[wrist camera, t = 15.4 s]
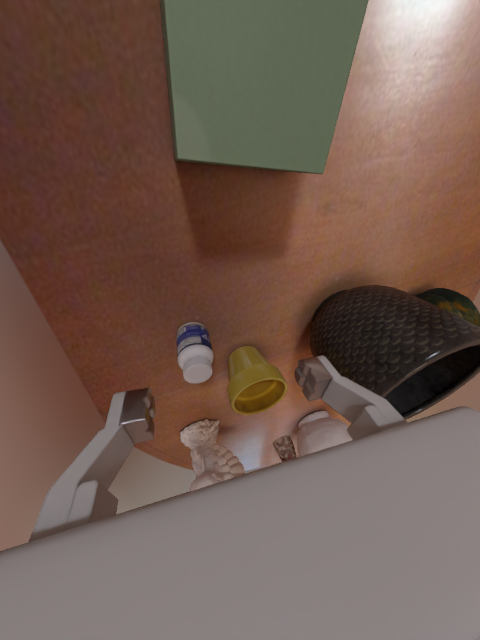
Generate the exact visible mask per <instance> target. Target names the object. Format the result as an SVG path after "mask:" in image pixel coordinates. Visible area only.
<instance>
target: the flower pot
mask: <svg viewBox="0 0 480 640" xmlns="http://www.w3.org/2000/svg"><path fill="white" fill-rule="evenodd" d="M228 368H229V384H228V388H227V392H228V396H229V400H230V404H231V407H232V409H233V410H234V411H235V412H236V413H238V414H242V415H252V414H257V413H260V412H263V411H265V410H267V409H269V408H271V407H273V406H274V405H276V404H277V403H278V402H279V401H281V399H282V398H283V397H284V396H285V394H286V392H287V383H286V381H285V379H284V378H283V376H282V374H281V373H280V371H279V370H278V368H277V367H275V366H274V365H271V364H270V363H269V362H268V361H267V360H266V359H265V358H264V357H263V356H262V354H261V353H260V352H259V351H258V350H257V349H256V348H255V347H252V346H243V347H240V348H238V349H236V350H235V351H233V352H232V353H231V354H230V356H229V358H228Z"/></svg>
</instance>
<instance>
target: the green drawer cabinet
mask: <svg viewBox="0 0 480 640" xmlns="http://www.w3.org/2000/svg"><path fill="white" fill-rule="evenodd" d="M367 4H368V0H160V8H161V19H162V29H163V40H164V51H165V62H166V73H167V84H168V95H169V105H170V116H171V127H172V138H173V149H174V160H175V161H183V162H193V163H203V164H213V165H223V166H233V167H243V168H253V169H263V170H273V171H282V172H297V173H313V174H323V172H324V169H325V165H326V161H327V157H328V153H329V149H330V146H331V142H332V138H333V134H334V130H335V126H336V123H337V119H338V115H339V111H340V107H341V103H342V100H343V96H344V92H345V88H346V84H347V80H348V77H349V73H350V69H351V65H352V61H353V57H354V54H355V50H356V46H357V42H358V38H359V35H360V31H361V27H362V23H363V19H364V15H365V12H366V8H367Z"/></svg>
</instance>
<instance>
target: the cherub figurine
mask: <svg viewBox="0 0 480 640" xmlns="http://www.w3.org/2000/svg"><path fill="white" fill-rule="evenodd" d="M218 423H219V421H218V420H215V421H212V420H210V421H209V420H208V419H205V420H204V421H198V422H196V423H193V424H191V425H190V426H188V427H186V428H185V429H184V430H183V431H181V432H180V434H181V436H180V438H181V439H180V440H181V442H182V443H184V445H185V446H187V447H190V449H191V452H190V455H191V457H192V459H193V461H192V466H193V469H194V472H195V474H196V475H197V477H196V479H195V481H194V482H193V483H192V484H191V488H190V491H193V490H196V489H199V488H202V487H206V486H209V485H212V484H215V483H218V482H221V481H225V480H228V479H231V478H234V477H237V476H241V475H244V467H243V465H242V464H241V463H240V462H239V459H238V458H237V457H236V456H234V455H233V453H232V452H231V451H229V450H227V449H226V448H225V447H223V446H218V445H217V444H216V440H215V439H216V438H217V434H218V433H217V432H218V430H219V426H218Z"/></svg>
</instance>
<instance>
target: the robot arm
mask: <svg viewBox="0 0 480 640" xmlns="http://www.w3.org/2000/svg"><path fill="white" fill-rule="evenodd" d="M295 378H296V381H297V383H298V385H300V386H301V387H303V390H302V392H303V393H304V395H305V397H306V398H307V400H308V401H312V400H317V399H321V398H322V399H321V400H323V401H324V402H325V403H327V404H328V405H329V406H330V407H332V408H333V409H334V410H336V411H337V412H338V413H339V414H341V415H342V416H343V417H345V418H346V419H347V420H348V421H350V422H351V423H352V424H351V425H350V426H349V427H348V429H347V432H348V434H349V435H350V437H351V438H352V441H348V442H345V443H342V444H339V445H336V446H333V447H329V448H326V449H323V450H320V451H317V452H313V453H310V454H307V455H304V456H301V457H298V458H294V459H291V460H288V461H285V462H282V463H279V464H275V465H272V466H270V467H266V468H263V469H260V470H256V471H253V472H250V473H247V474H244V475H241V476H237V477H234V478H231V479H228V480H225V481H221V482H218V483H215V484H212V485H209V486H206V487H202V488H199V489H196V490H193V491H190V492H187V493H183V494H180V495H177V496H174V497H171V498H168V499H164V500H162V501H159V502H155V503H152V504H149V505H146V506H142V507H139V508H136V509H133V510H130V511H126V512H123V513H120V514H117V515H116V512H117V505H118V499H117V498H116V497H115V496H114V495H113V494H111V493H110V492H109V491H108V488H109V487H110V485H111V483H112V482H113V480H114V478H115V477H116V475H117V473H118V471H119V470H120V468H121V467H122V465H123V463H124V462H125V460H126V458H127V457H128V455H129V453H130V452H131V450H132V448H133V446H134V444H136V443H139V442H143V441H147V440H151V439H154V426H155V425H154V422H153V418H154V417H155V400H154V397H153V396H151V392H152V391H151V389H150V388H144V389H137V390H131V391H125V392H119V393H115V394H114V395H113V397H112V401H111V405H110V409H109V413H108V417H107V421H106V425H105V428H104V429H101V430H100V431H99V432H98V433H97V434H96V436H95V437H94V438H93V439H92V440H91V441H90V443H89V444H88V445H87V446H86V447H85V449H84V450H83V451H82V452H81V453H80V454H79V455H78V457H77V458H76V459H75V460H74V461H73V463H72V464H71V465H70V466H69V467H68V468H67V469H66V471H65V472H64V473H63V474H62V475H61V477H60V478H59V479H58V480H57V481H56V482H55V483H54V485H53V486H52V487H51V488H50V489H49V490H48V492H47V495H46V498H45V500H44V503H43V506H42V508H41V511H40V514H39V516H38V519H37V521H36V524H35V527H34V529H33V532H32V534H31V537H30V540H29V542H28V543H25V544H22V545H19V546H15V547H12V548H9V549H6V550H3V551H0V640H480V412H479V411H477V410H474V409H472V408H469V407H463V406H462V407H457V408H453V409H450V410H447V411H444V412H440V413H437V414H434V415H431V416H428V417H425V418H422V419H419V420H415V421H412V422H409V423H407V421H406V420H405V419H404V418H403V417H402V416H401V415H400V414H399V413H398V412H397V410H396V409H395V408H394V407H393V406H392V405H391V404H390V403H389V402H388V401H387V400H386V399H384V398H382V397H381V396H379V395H377V394H375V393H373V392H371V391H370V390H368V389H366V388H364V387H362V386H360V385H359V384H357V383H355V382H353V381H351V380H349V379H348V378H346V377H341V375H340V374H339V373H338V372H337V370H336V369H335V368H334V367H333V366H332V364H331V363H330V362H329V361H328V359H327V358H326V357H325V356H317V357H311V358H306V359H301V360H299V361H298V367H297V368H296V370H295Z"/></svg>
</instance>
